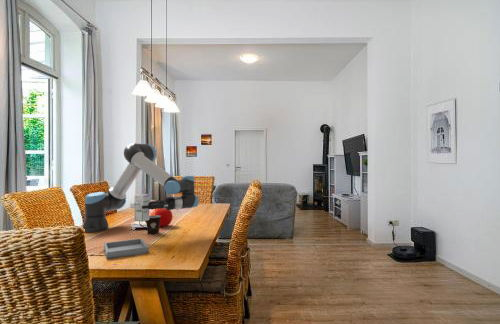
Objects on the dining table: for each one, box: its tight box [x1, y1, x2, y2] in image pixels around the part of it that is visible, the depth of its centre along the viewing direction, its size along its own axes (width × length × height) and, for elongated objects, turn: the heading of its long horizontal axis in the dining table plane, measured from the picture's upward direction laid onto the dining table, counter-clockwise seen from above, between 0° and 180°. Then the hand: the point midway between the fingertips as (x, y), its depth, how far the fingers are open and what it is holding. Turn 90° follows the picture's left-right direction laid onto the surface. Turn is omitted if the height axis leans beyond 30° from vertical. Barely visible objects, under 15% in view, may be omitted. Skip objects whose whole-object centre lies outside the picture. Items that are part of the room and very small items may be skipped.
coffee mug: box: [138, 214, 160, 235], centre depth 184 cm, size 12×9×10 cm
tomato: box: [154, 208, 173, 228], centre depth 203 cm, size 12×12×13 cm
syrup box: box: [134, 193, 150, 222], centre depth 166 cm, size 6×6×14 cm
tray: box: [103, 237, 149, 260], centre depth 148 cm, size 18×18×3 cm
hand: (133, 206), depth 163 cm, fingers closed on syrup box, 8 cm apart
